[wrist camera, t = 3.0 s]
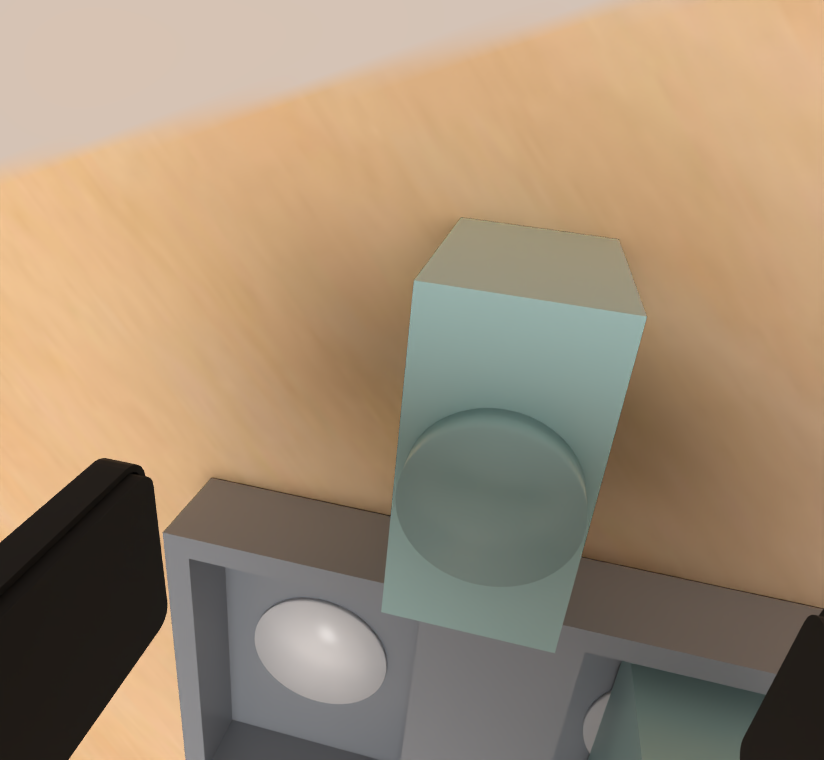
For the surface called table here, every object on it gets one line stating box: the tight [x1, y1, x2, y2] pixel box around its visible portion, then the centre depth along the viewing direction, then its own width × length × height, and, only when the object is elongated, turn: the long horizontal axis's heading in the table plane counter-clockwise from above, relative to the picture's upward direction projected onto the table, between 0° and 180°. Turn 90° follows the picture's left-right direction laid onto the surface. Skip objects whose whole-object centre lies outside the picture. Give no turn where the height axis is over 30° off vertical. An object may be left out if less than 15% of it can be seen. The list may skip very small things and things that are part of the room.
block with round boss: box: [381, 217, 647, 653], centre depth 15 cm, size 4×8×7 cm, turn 175°
